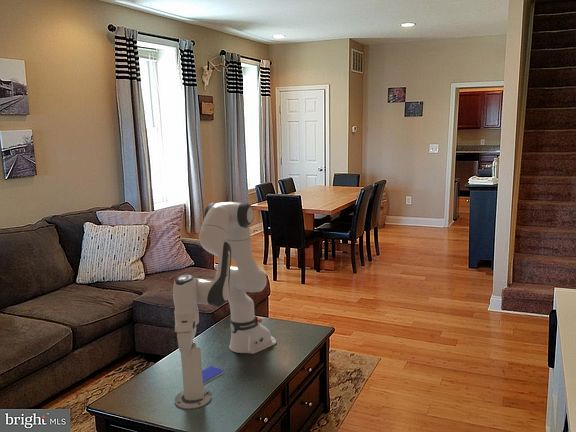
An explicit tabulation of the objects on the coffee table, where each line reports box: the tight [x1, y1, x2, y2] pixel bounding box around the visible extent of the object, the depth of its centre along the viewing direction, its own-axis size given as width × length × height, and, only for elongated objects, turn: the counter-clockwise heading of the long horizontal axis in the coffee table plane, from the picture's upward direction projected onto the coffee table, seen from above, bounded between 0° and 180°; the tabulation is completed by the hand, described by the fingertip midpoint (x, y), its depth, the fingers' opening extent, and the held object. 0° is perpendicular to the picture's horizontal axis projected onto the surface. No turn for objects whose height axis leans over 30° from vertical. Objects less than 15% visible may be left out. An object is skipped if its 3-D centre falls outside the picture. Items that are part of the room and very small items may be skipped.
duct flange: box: [174, 387, 213, 410], centre depth 194 cm, size 14×14×1 cm
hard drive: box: [202, 365, 225, 386], centre depth 212 cm, size 2×8×12 cm
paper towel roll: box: [180, 342, 205, 401], centre depth 192 cm, size 7×6×21 cm
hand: (189, 353), depth 191 cm, fingers closed on paper towel roll, 3 cm apart
